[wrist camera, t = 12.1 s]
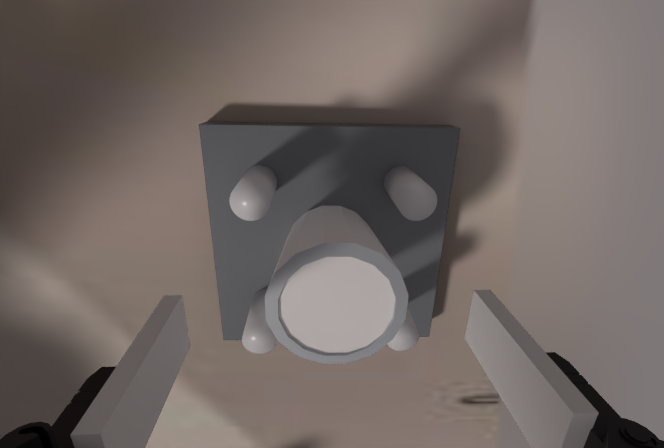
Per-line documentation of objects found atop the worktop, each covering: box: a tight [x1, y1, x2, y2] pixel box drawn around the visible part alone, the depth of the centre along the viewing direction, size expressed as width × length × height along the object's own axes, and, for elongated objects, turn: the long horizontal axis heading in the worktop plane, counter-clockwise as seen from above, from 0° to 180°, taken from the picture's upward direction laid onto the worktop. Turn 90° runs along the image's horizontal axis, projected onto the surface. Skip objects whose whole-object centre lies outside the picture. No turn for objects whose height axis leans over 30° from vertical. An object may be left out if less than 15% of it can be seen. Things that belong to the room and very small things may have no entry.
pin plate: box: [199, 122, 460, 354], centre depth 22 cm, size 15×15×6 cm
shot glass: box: [265, 206, 409, 364], centre depth 20 cm, size 7×7×7 cm
